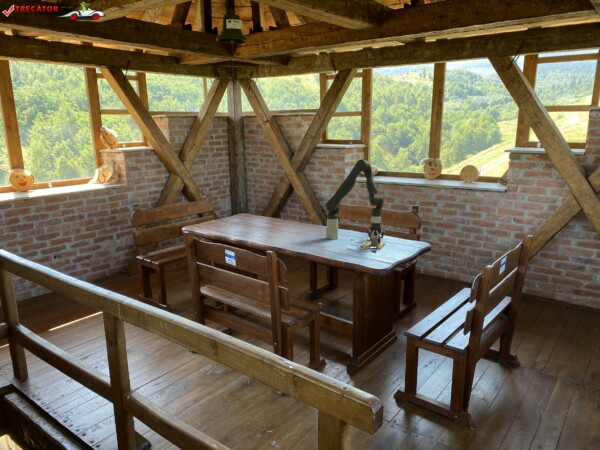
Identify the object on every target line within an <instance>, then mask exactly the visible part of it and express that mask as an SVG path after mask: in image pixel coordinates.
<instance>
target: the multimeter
mask: <svg viewBox="0 0 600 450" xmlns="http://www.w3.org/2000/svg"><path fill="white" fill-rule="evenodd" d="M369 218H372V215H371V216H370V217H368V219H367V223H366V224H368V222H369ZM369 229H371V223H370V224H369ZM370 235H372V232H371V231H370ZM374 236H378V235H376V234H375V235H374ZM380 236H382V233H380ZM383 238H384V237H383ZM383 238H381V240H384V239H383ZM368 241H369V242H371V238H370V237H369V240H368Z"/></svg>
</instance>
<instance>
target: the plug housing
mask: <svg viewBox="0 0 600 450" xmlns="http://www.w3.org/2000/svg"><path fill="white" fill-rule="evenodd" d="M378 239H379V238H378V236H373V237H372V238H371V239H370V242H371V245H378V244H379V243H378Z"/></svg>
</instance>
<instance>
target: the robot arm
mask: <svg viewBox="0 0 600 450" xmlns="http://www.w3.org/2000/svg"><path fill="white" fill-rule="evenodd" d="M361 173H363V174H364V176H365V181H366V184H365V185H366V188H367V191H368V197H369V204H370V205H371V206H374V207H373V208H372V209H371V216H372V217H370V218H371V219H370V220H371V221H370V224H371V229H370V228H369V229H368V228H367V229H366V233H367V238H369V239H370V238H372V237H373V236H374V235H375V234H376V235H378V238H379V239H378V243H382V242H381V241H382V238H384V235H385V232H386V231H385V230H382V208H383V205H384V197H383V196H381V195H377V194H378V191H379V190H378V188H377V185H376V181H375V179H374V175H373V169H372V165H371V162H370V161H368V160H365V159H363V158H361V159H359V160H358V161H356V163H355V165H354V166H353V168H352V169H351V171H350V172H349V173H348V175H347V176H346V177H345V179H344V180H343V181H342V183H341V184H340V185H339V187H338V188H337V190H336V191H335V193H334V194H333V195H332V196H331V198H329V199H328V201H326V204H325V208H326V209H325V210H327V211H328V212H327V215H326V226H327V227H326V229H325V232H326V233H325V235H326V236H325V239H328V240H338V238H339V215H340V202H341V201H342V200H343V199H344V198H345V197H346V196H347V195H348V194H349V193H350V192H351V191H352V189H354V187H355V185H356V182H357V181H356V180H357V178H358V176H359V175H360V174H361ZM370 231H371V232H372V235H370ZM381 234H382V235H381Z"/></svg>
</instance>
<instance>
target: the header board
mask: <svg viewBox="0 0 600 450" xmlns="http://www.w3.org/2000/svg"><path fill="white" fill-rule="evenodd" d="M385 246H386V242H380V243H379V244H378V245H371V241H369V240H368V241H366V240H365V241H364V242H363V243H362V244H361V245H360V248H362V247H376V248H377V249H376V250H382V249H383V248H384V247H385Z"/></svg>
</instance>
